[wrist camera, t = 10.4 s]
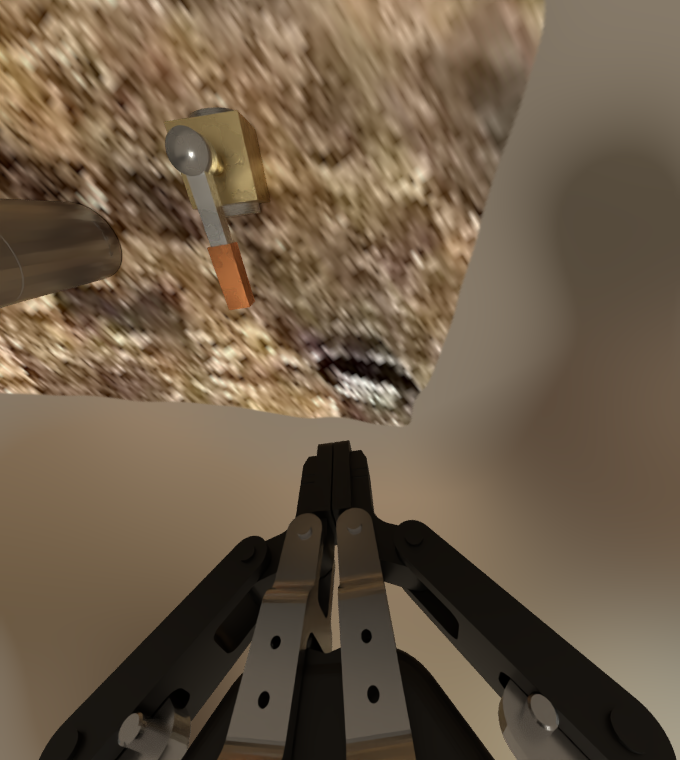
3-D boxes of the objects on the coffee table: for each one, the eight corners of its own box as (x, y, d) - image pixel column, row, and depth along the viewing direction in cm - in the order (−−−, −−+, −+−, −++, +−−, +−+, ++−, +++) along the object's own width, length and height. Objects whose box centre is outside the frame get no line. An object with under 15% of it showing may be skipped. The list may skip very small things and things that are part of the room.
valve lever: (173, 136, 24) (158, 129, 22) (209, 129, 24) (197, 121, 22) (231, 304, 32) (224, 311, 29) (259, 300, 31) (254, 306, 29)
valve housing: (219, 218, 36) (182, 220, 28) (192, 127, 32) (138, 94, 23) (272, 211, 36) (252, 210, 27) (252, 118, 31) (221, 80, 23)
